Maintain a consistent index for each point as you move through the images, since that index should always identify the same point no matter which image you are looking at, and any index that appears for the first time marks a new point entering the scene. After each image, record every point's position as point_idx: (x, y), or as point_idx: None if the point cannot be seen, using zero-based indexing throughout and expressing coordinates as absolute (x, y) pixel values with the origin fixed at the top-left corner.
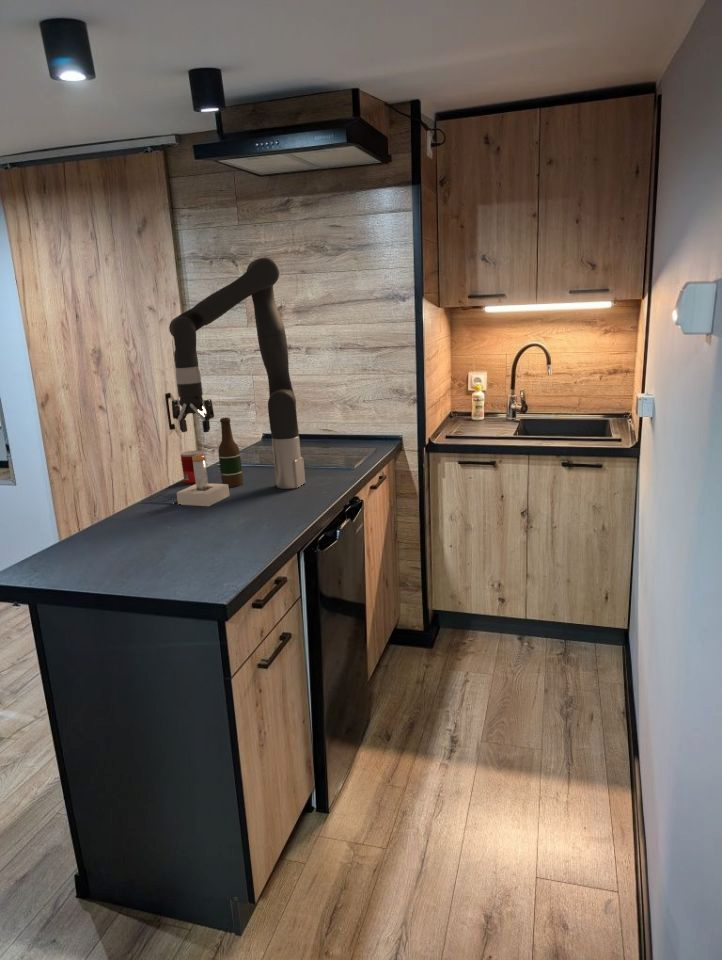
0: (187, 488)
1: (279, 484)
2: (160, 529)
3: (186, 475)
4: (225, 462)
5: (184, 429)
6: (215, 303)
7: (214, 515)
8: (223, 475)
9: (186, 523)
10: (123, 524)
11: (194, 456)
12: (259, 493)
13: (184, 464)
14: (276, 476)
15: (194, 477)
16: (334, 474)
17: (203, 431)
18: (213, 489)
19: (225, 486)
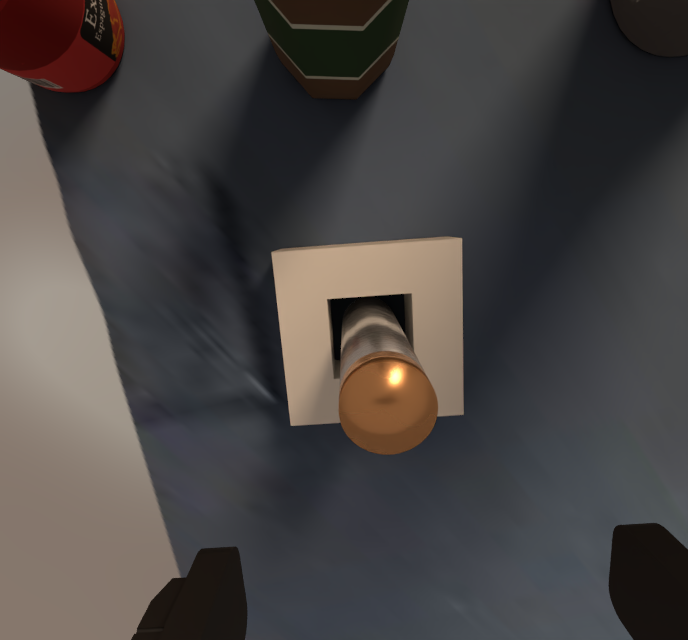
0: (291, 355)
1: (665, 44)
2: (442, 627)
3: (33, 79)
4: (348, 44)
5: (235, 627)
6: None
7: (542, 476)
8: (320, 80)
9: (491, 565)
10: (276, 621)
11: (367, 431)
12: (575, 161)
13: None
14: (678, 11)
15: (88, 69)
16: None
17: (620, 618)
18: (441, 340)
19: (460, 264)
